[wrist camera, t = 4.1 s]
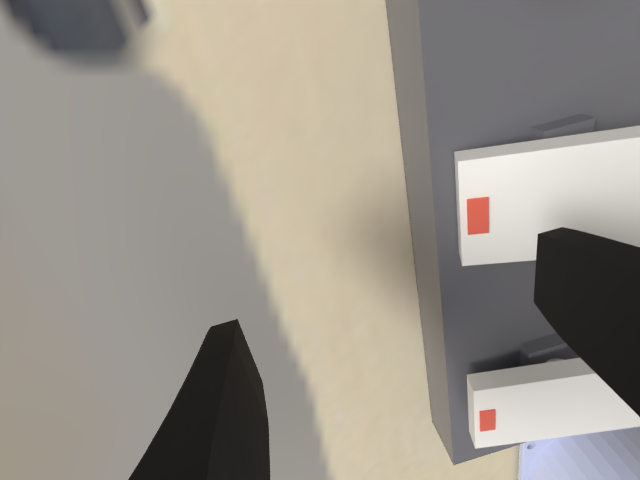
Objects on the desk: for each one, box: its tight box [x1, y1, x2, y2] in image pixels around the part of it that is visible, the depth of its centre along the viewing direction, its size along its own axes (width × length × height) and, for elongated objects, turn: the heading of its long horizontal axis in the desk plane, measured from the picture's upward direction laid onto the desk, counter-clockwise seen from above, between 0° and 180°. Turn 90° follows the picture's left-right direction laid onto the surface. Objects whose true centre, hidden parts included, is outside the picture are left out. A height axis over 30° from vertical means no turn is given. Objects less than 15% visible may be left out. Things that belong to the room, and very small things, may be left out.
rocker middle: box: [454, 126, 640, 266], centre depth 12 cm, size 4×7×1 cm, turn 102°
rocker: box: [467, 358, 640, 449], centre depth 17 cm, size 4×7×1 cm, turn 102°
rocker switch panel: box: [386, 0, 640, 465], centre depth 15 cm, size 28×12×3 cm, turn 12°
